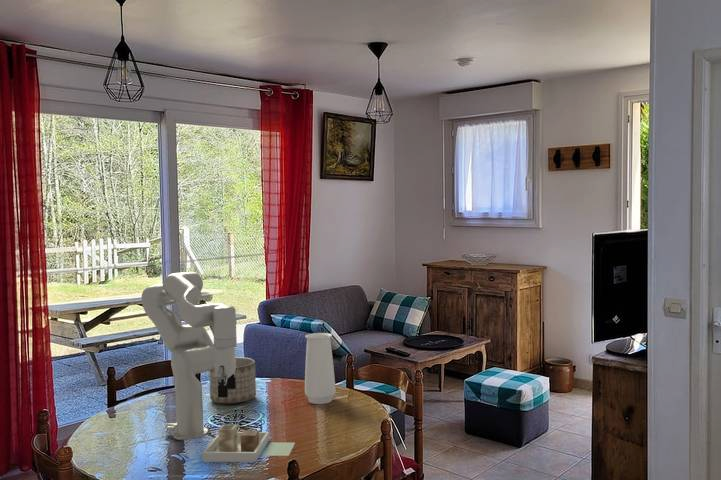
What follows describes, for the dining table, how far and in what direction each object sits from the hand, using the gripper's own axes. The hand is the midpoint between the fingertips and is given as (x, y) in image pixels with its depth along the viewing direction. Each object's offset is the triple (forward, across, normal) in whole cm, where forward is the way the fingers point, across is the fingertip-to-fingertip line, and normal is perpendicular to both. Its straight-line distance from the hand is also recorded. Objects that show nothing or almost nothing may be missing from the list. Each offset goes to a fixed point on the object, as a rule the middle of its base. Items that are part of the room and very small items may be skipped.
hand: (227, 392), depth 220 cm
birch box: (+20, 0, 0) cm, 20 cm away
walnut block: (+20, 0, +7) cm, 21 cm away
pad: (+20, -1, +17) cm, 26 cm away
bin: (+20, 0, +3) cm, 21 cm away
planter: (+21, -60, -15) cm, 65 cm away
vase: (+20, -58, +23) cm, 66 cm away
